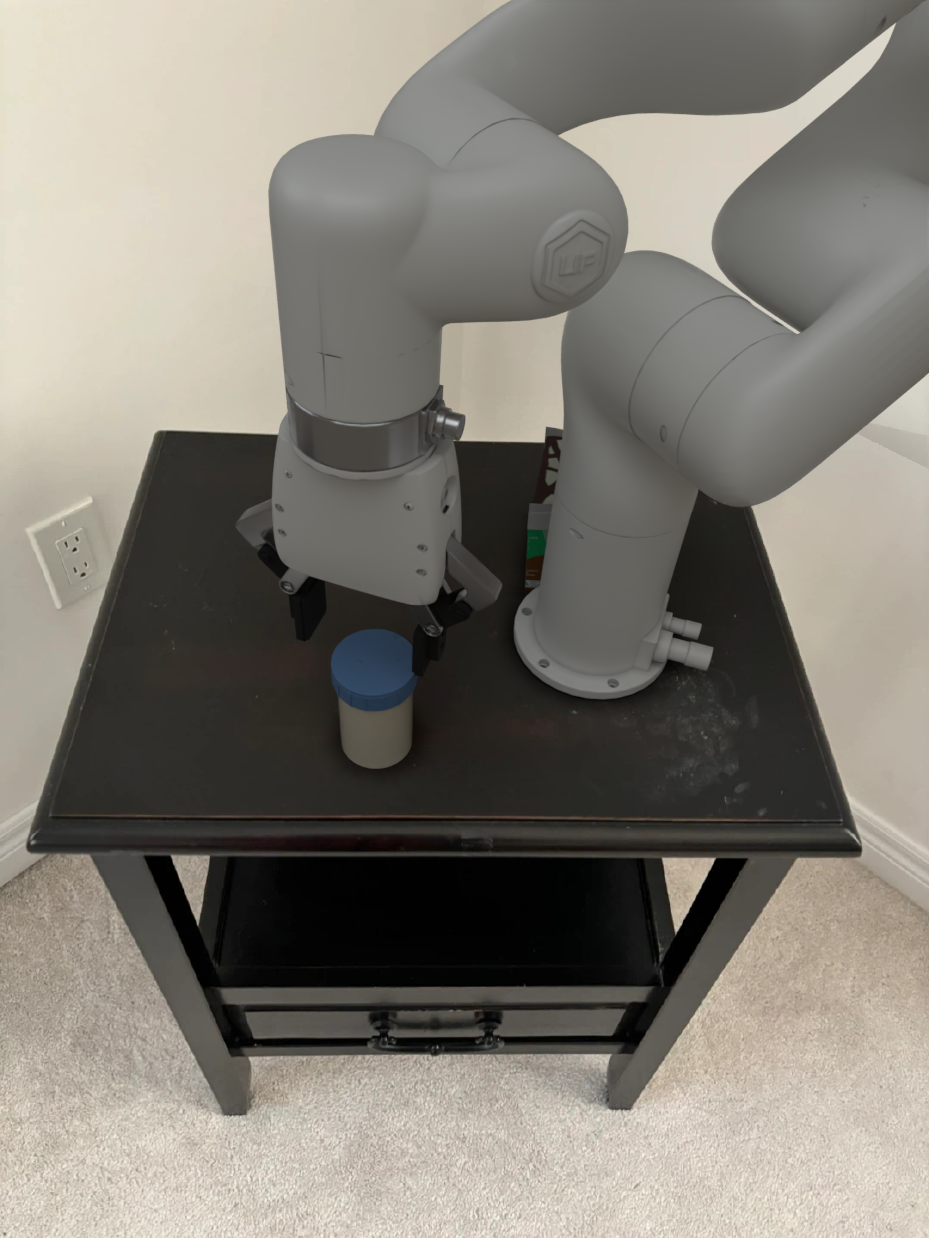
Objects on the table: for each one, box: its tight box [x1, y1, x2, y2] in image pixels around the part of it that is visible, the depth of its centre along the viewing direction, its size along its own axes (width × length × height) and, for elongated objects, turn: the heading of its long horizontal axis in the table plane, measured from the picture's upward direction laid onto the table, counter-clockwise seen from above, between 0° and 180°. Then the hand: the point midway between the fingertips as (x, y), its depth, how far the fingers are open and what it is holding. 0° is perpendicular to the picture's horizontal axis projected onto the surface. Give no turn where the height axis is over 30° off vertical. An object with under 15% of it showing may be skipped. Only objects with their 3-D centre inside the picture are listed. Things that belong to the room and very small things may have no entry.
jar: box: [336, 691, 414, 770], centre depth 65 cm, size 5×5×9 cm
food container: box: [524, 426, 563, 595], centre depth 78 cm, size 12×6×10 cm, turn 170°
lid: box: [330, 628, 419, 711], centre depth 62 cm, size 6×6×2 cm
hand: (368, 641), depth 60 cm, fingers open, 7 cm apart
